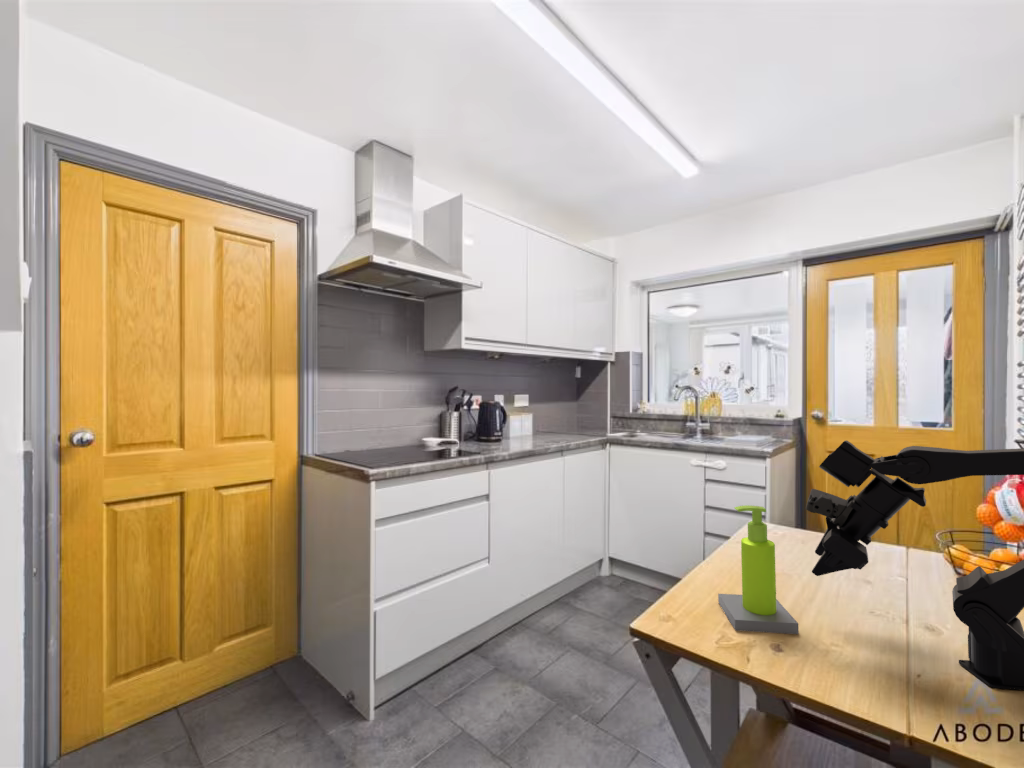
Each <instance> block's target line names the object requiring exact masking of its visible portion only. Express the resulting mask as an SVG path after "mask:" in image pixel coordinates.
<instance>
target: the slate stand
mask: <svg viewBox="0 0 1024 768" xmlns="http://www.w3.org/2000/svg"><path fill="white" fill-rule="evenodd" d="M717 598H718V599H717V600H718V602H719V603H718V605H719V604H720V605H719V607H720V608H721V607H722V608H721V610H722V609H723V610H722V611H723V613H724V612H725V613H724V615H725V614H726V615H725V616H726V618H727V620H728V621H729V624H730V625H731V626H732V627H733V629H734V631H740V632H757V633H771V634H772V633H774V634H788V635H791V634H792V635H799V623H798V621H797V620H796V619H795V618H794V617H793V616H792V614H791V613H790V612H789V611H788V610H787V609H786V608H785V607H784V606H783V604H781V603H780V601H779V599H777V598H776V613H775V614H773V615H759V614H755V613H752V612H750V611H748V610H746V609H745V608H744V607H743V599H742V594H733V593H718V594H717Z"/></svg>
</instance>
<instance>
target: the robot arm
mask: <svg viewBox="0 0 1024 768" xmlns="http://www.w3.org/2000/svg"><path fill="white" fill-rule="evenodd" d="M818 468H820V469H821V470H823V471H824V472H825V473H827V474H828V475H830V476H831V477H833V478H834V479H835V480H837V481H838V482H840V483H841V484H843V485H844V486H846V487H848V488H849V487H850V486H852V487H854V488H855V486H856V487H857V488H859V487H861V486H862V485H863V483H864V482H866V481H867V480H868V478H869V477H870V476H871V475H872V476H874V477H873V479H872V480H871V481H870V482H869V483H868V484H867V485H866V486H864V487H863V489H862V490H861V491H860V492H859V493H858V494H857V495H855V494H854V495H849V497H848V498H847V499H844V498H842V497H839V496H837V495H835V494H831V493H828V492H825V491H822V490H819V489H816V488H811V489H810V493H809V496H808V499H807V502H806V506H805V510H806V511H808V512H810V513H813V514H819V515H820V516H821V515H822V516H824V517H825V522H826V528H827V529H826V530H825V532H824V534H823V536H822V537H821V540H819V542H818V545H817V547H816V548H815V550H814V552H815V554H816V555H817V556H819V559H818V560H817V561H816V563H815V565H814V567H813V568H812V569H811V573H812V574H813V575H815V576H816V577H820V576H824V575H829V574H831V573H836V572H840V571H845V570H846V571H847V570H852V569H854V570H860V571H861V570H862V569H863V568H864V567H866V565H867V564H868V563H869V554H868V549H867V547H866V546H868V545H869V544H871V542H872V537H873V535H875V534H876V533H877V532H878V531H879V530H880V529H881V528H882V529H883V530H885V529H886V528H887V527H888V526H889V521H890V520H891V519H892V518H893V517H894V516H895V515H896V514H897V513H898V512H899V511H900V510H901V509H902V508H903V507H904V506H905V505H907V503H908V502H910V501H912V502H914V503H915V504H917V505H919V506H920V507H921V508H922V507H923V508H924V507H926V504H927V499H926V495H925V491H926V489H925V488H924V487H913V486H912V485H913V484H914V485H927V484H933V483H940V482H946V481H952V480H955V479H960V478H967V477H976V476H977V477H978V476H1024V448H1002V449H1000V448H999V449H978V450H977V449H975V450H960V449H953V448H952V449H951V448H943V447H933V446H924V445H923V446H921V445H910V446H906V447H904V448H902V449H901V450H899V452H897V454H893V455H892V454H891V455H887V456H882V455H881V456H880V457H876V458H873V457H872V456H871V455H868V454H867V453H865V452H864V451H862V450H860V449H859V448H858V447H856V445H854V444H853V443H852V442H850V441H849V440H844V441H843V442H842V443H841V444H840V445H839V446H838V447H837V448H836V449H834V451H831V453H830V454H828V455H827V457H826V458H824V460H823V461H822V462H821V464H819V466H818ZM889 476H891V477H892V476H893V477H895V478H894V479H893V478H891V477H889ZM910 484H911V485H910ZM861 542H862V543H861ZM864 544H865V545H866V546H865V545H864ZM955 579H956V581H955V582H956V584H955V585H954V586H953V587H952V591H951V592H952V593H951V594H952V607H953V608H952V610H953V613H954V614H955V616H956V617H957V619H958V620H959V621H960V622H962V623H963V625H965V626H967V627H968V634H967V653H968V654H967V655H968V656H967V657H968V659H958V664H959V665H960V666H962V667H963V668H965V669H966V670H967V671H968V672H970V673H971V674H972V675H974V676H975V677H977V678H978V679H979V680H980V681H981V682H983V683H985V685H987V686H989V687H990V688H994V689H1002V690H1005V689H1006V690H1015V691H1016V690H1017V691H1024V628H1023V626H1022V622H1021V619H1020V618H1018V615H1019V614H1020V613H1021V612H1022V610H1023V609H1024V559H1022V560H1021V561H1019V562H1016V563H1015V564H1013V565H1011V566H1010V567H1008V568H1006V569H1004V570H1001V571H996V572H995V571H994V572H990V573H987V572H986V571H985V570H984V569H983V568H982V567H981V566H977V567H975V568H974V569H973V570H972V571H971V572H970V573H968V574H967V575H966V574H965V575H964V576H960V577H959V576H958V577H955Z"/></svg>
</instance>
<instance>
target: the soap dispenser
mask: <svg viewBox="0 0 1024 768" xmlns="http://www.w3.org/2000/svg"><path fill="white" fill-rule="evenodd" d="M734 509H735V510H736V512H739V513H741V512H748V511H749V512H751V517H752V518H751V520H750V521H749V522H747V536H746V537H743V538H741V540H740V545H741V546H740V548H741V549H740V550H741V551H740V553H741V554H740V555H741V584H742V585H741V587H742V588H741V590H742V591H741V592H742V594H741V595H742V599H743V607H744V608H745V609H746V610H748V611H750V612H752V613H755V614H759V615H773V614H775V613H776V599H777V582H776V581H777V580H776V545H775V544H776V543H775V542H773V541H772V540H769V539H768V525H767V524H766V523H765V522H763V513H767V510H766V508H765V507H764V506H758V505H748V504H747V505H739V506H734Z"/></svg>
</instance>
